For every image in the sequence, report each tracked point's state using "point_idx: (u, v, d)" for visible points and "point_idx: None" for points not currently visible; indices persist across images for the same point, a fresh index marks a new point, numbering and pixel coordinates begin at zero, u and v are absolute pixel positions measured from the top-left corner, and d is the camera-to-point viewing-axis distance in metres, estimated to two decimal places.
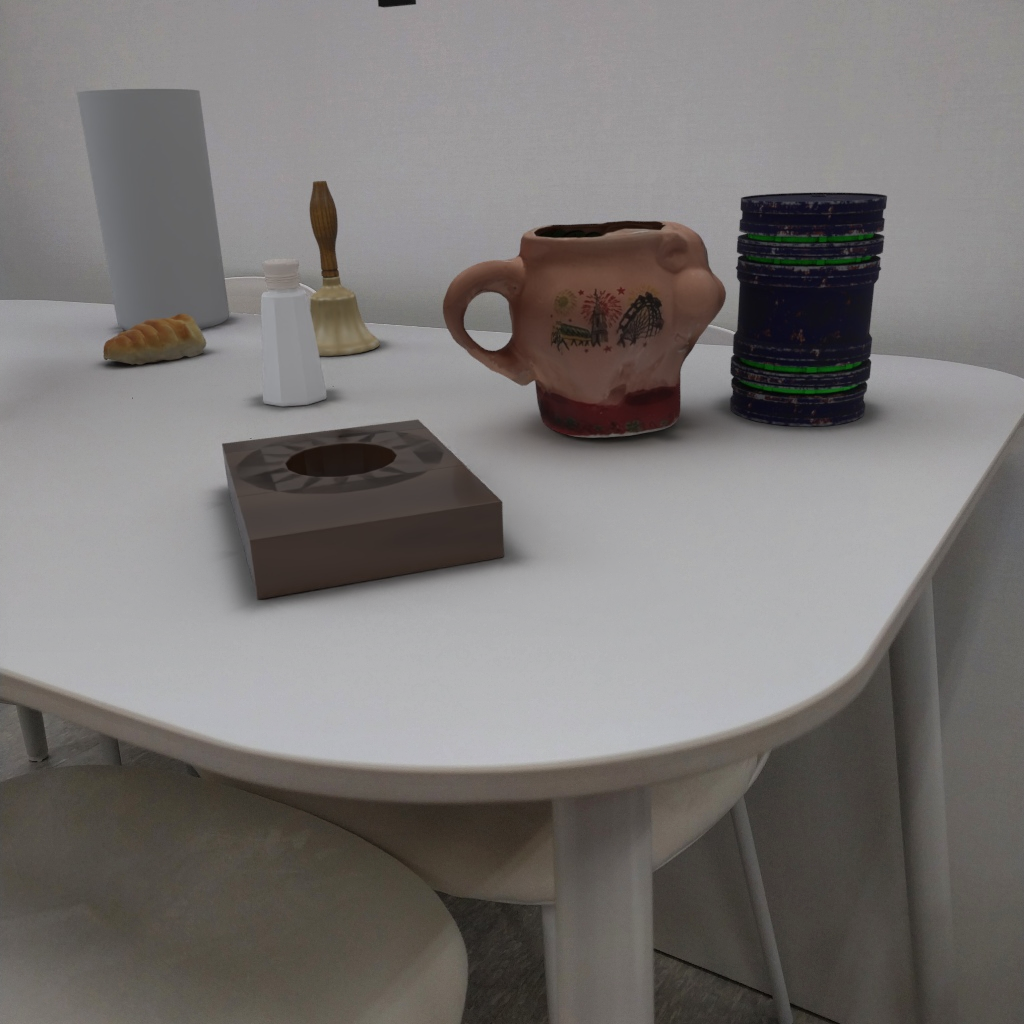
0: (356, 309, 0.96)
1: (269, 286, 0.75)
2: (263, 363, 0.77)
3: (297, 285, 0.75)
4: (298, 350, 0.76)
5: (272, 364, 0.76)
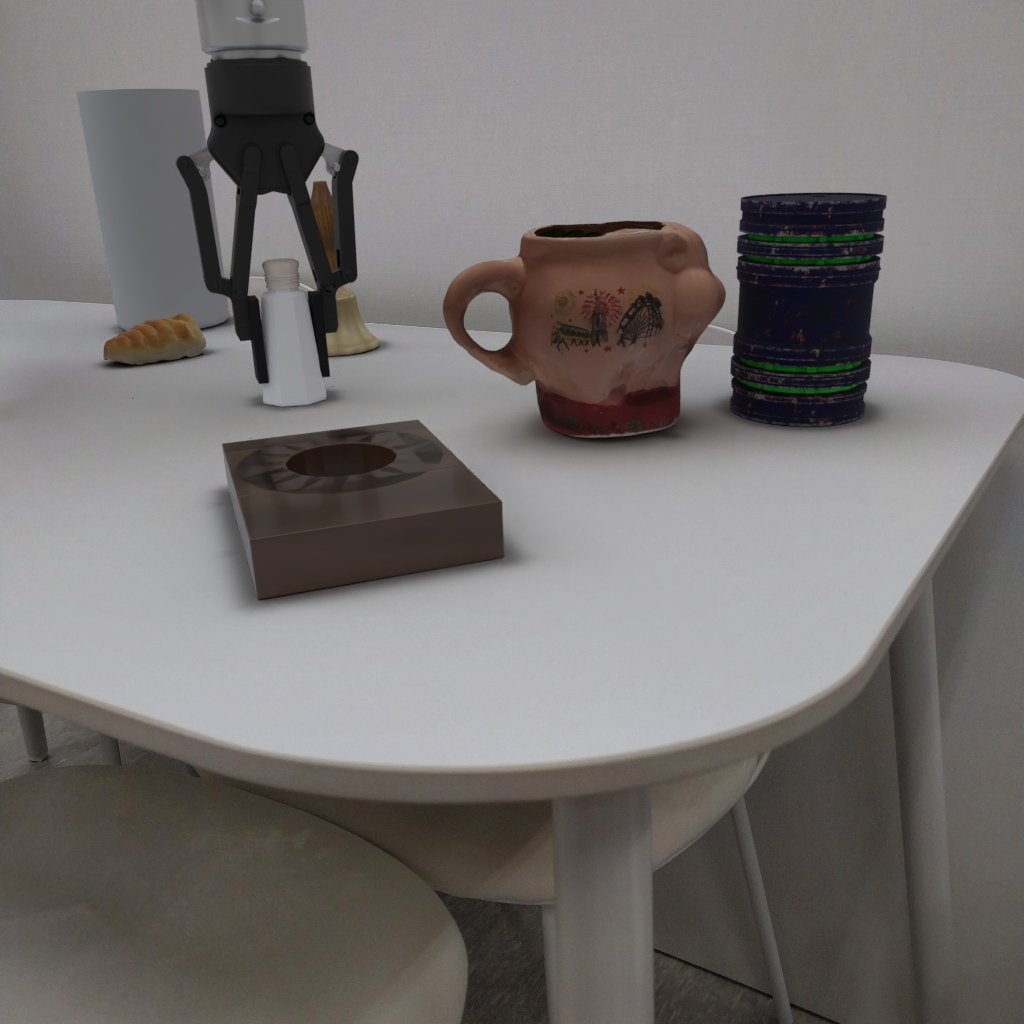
0: (356, 309, 0.96)
1: (269, 286, 0.75)
2: None
3: (297, 285, 0.75)
4: (297, 350, 0.76)
5: (272, 364, 0.76)
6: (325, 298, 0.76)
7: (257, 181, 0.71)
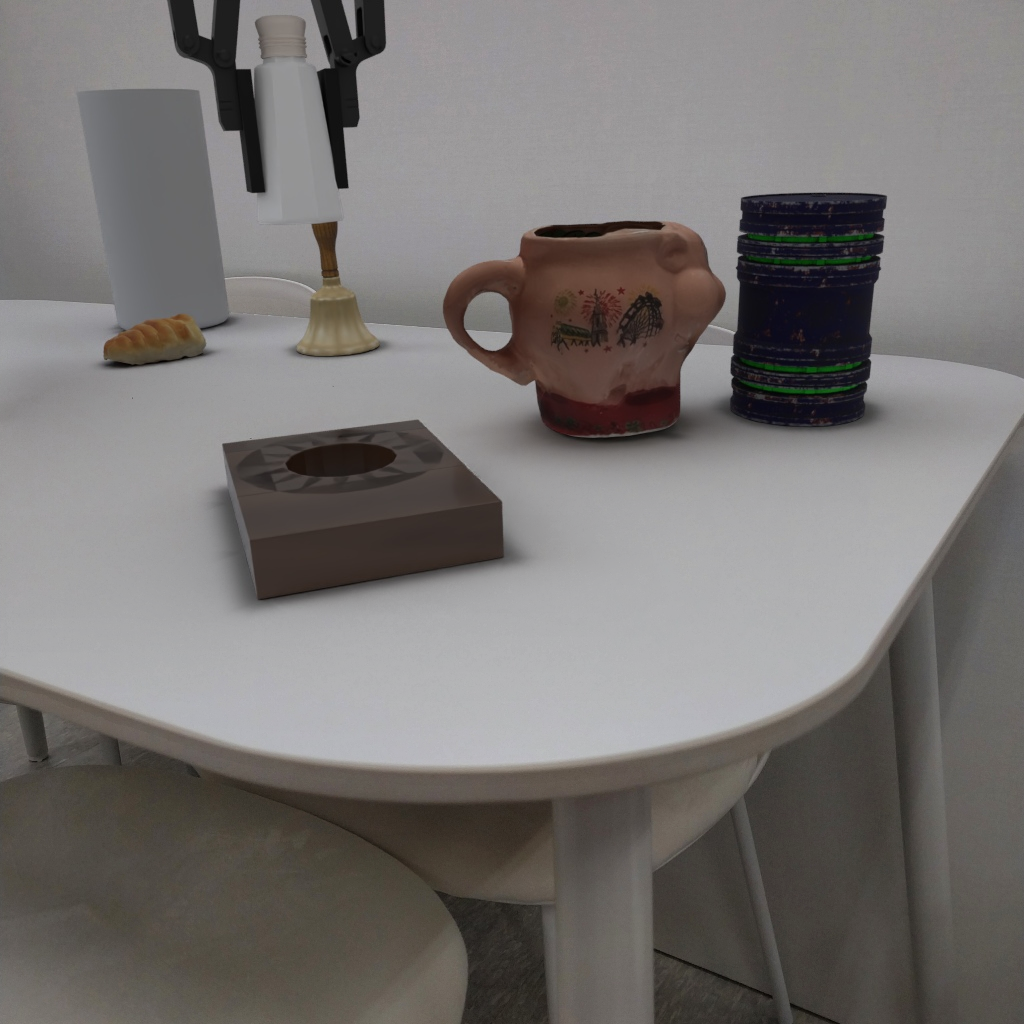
0: (356, 309, 0.96)
1: (265, 53, 0.54)
2: None
3: (303, 54, 0.55)
4: (305, 144, 0.55)
5: (269, 165, 0.55)
6: (342, 76, 0.56)
7: None
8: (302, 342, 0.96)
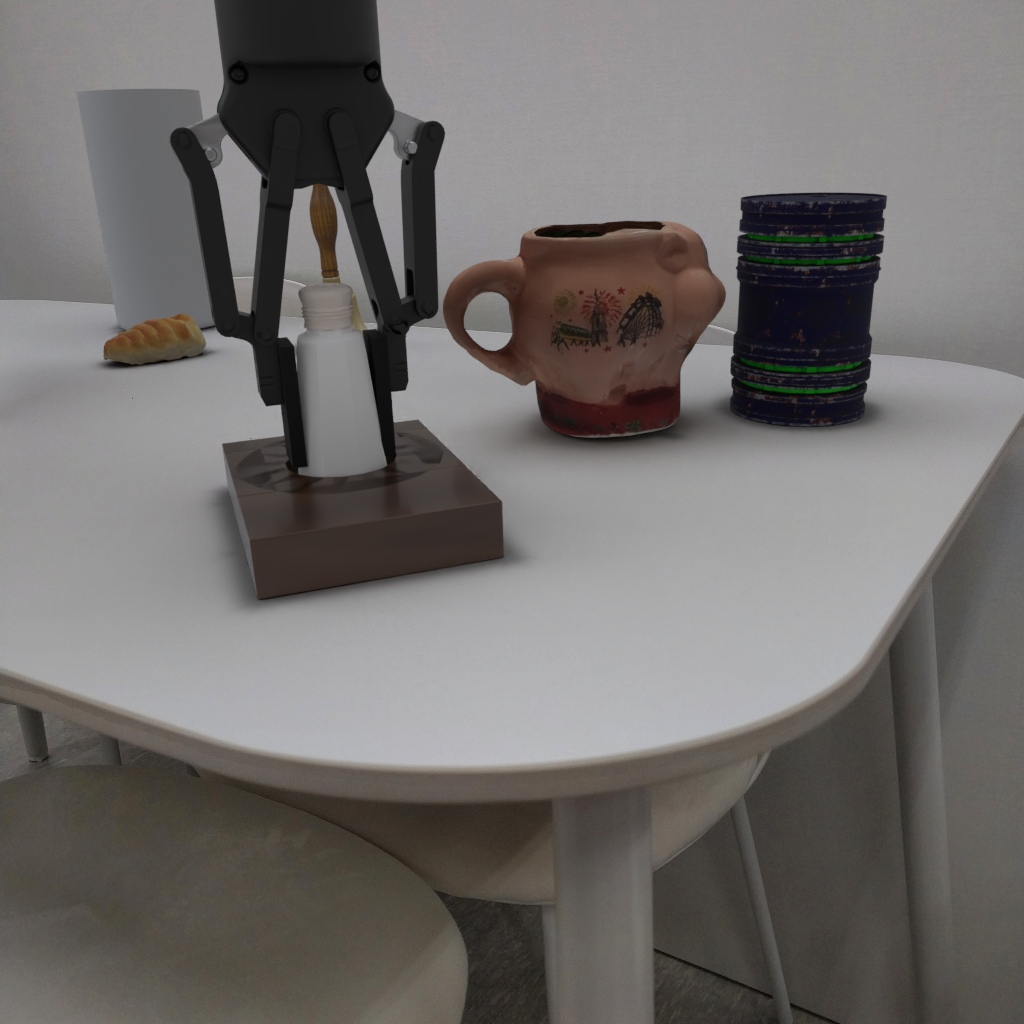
0: (356, 309, 0.96)
1: (309, 325, 0.50)
2: None
3: (350, 323, 0.51)
4: (351, 419, 0.51)
5: (312, 440, 0.51)
6: (390, 341, 0.52)
7: (294, 168, 0.46)
8: None
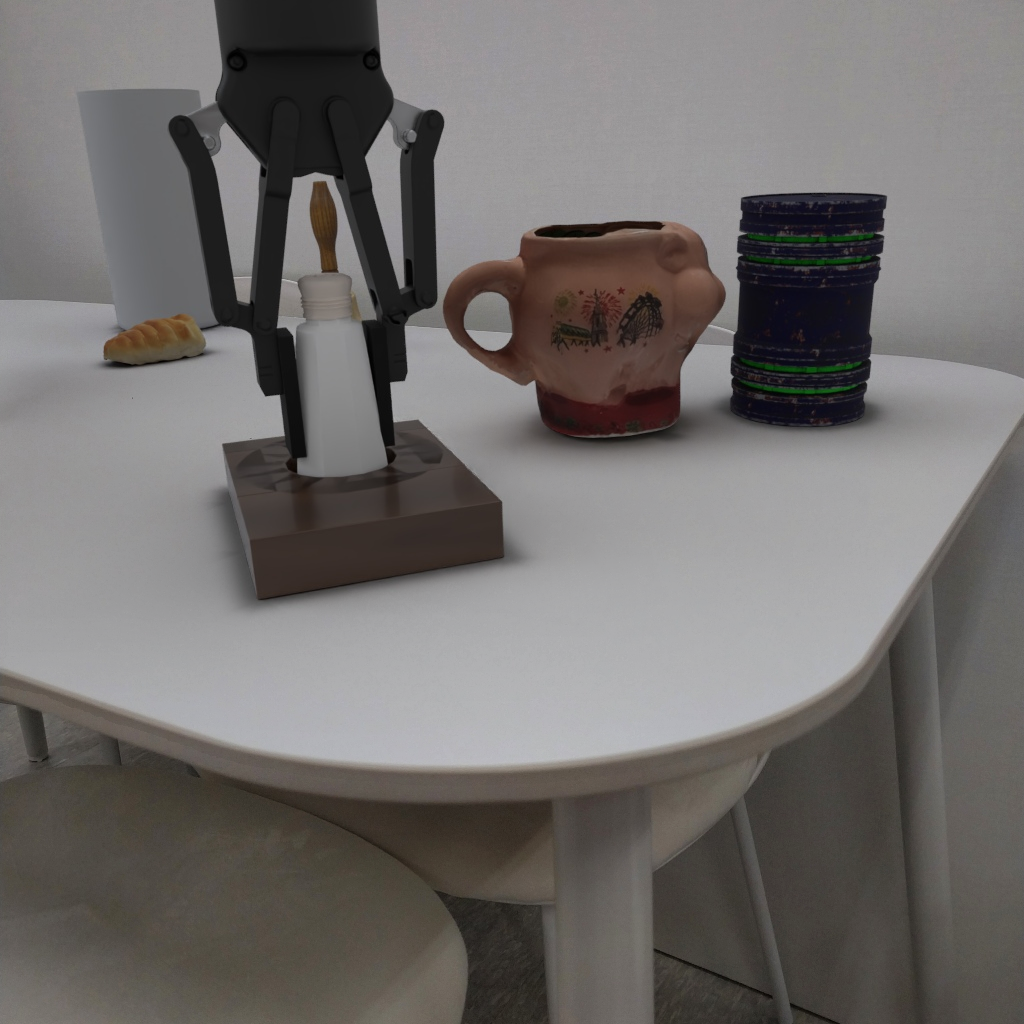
0: (356, 309, 0.96)
1: (308, 315, 0.50)
2: None
3: (349, 313, 0.51)
4: (350, 409, 0.51)
5: (311, 430, 0.51)
6: (389, 332, 0.52)
7: (293, 156, 0.46)
8: None
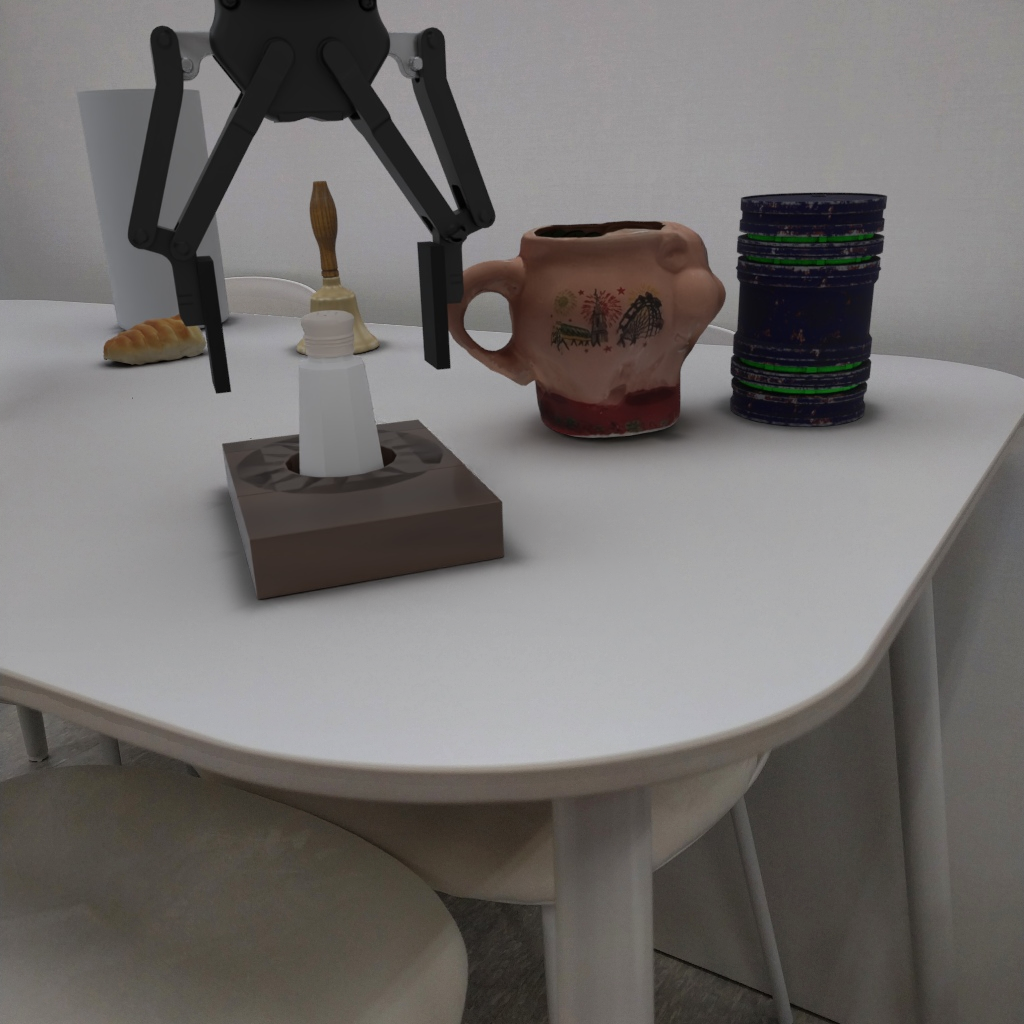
0: (356, 309, 0.96)
1: (311, 353, 0.51)
2: (301, 463, 0.52)
3: (352, 350, 0.51)
4: (353, 445, 0.52)
5: (314, 466, 0.52)
6: (447, 251, 0.51)
7: (272, 97, 0.45)
8: (302, 342, 0.96)
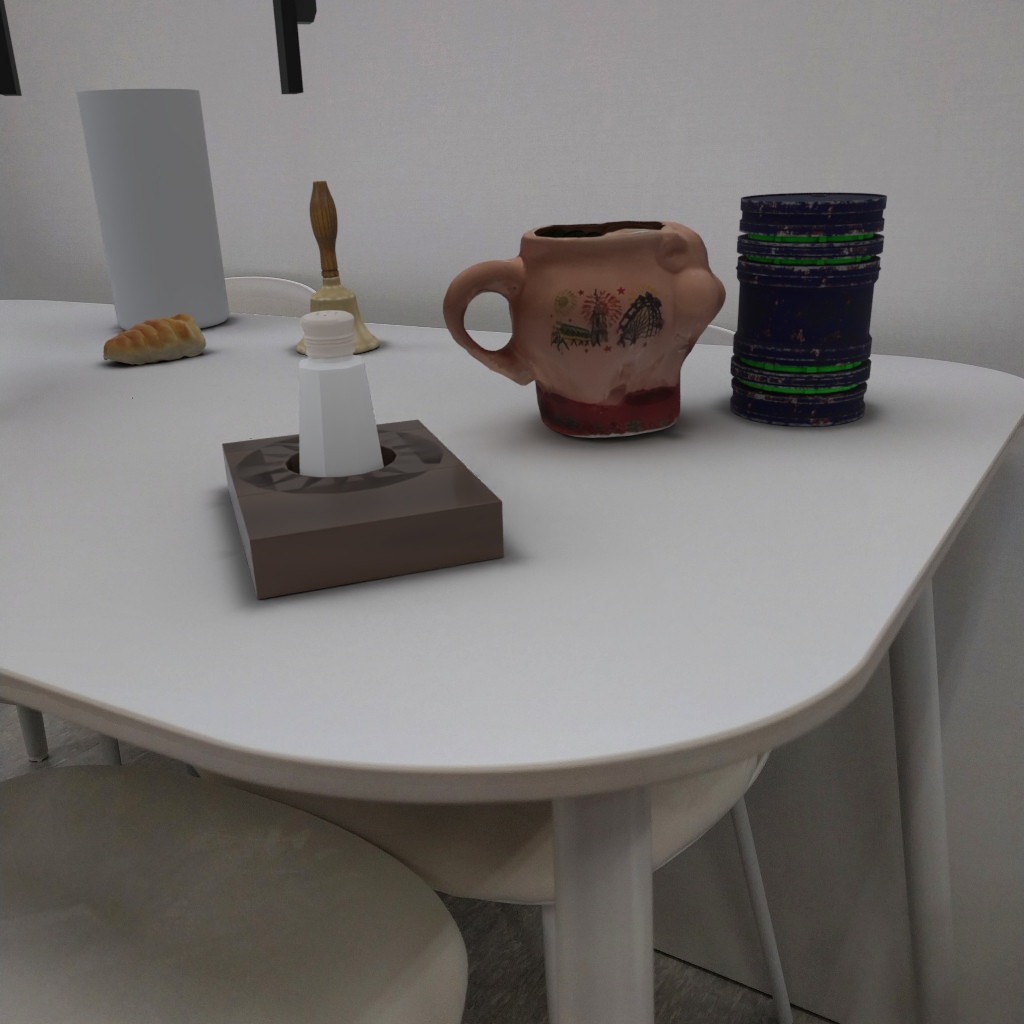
0: (356, 309, 0.96)
1: (311, 353, 0.51)
2: (301, 463, 0.52)
3: (352, 350, 0.51)
4: (353, 445, 0.52)
5: (314, 466, 0.52)
6: None
7: None
8: (302, 342, 0.96)
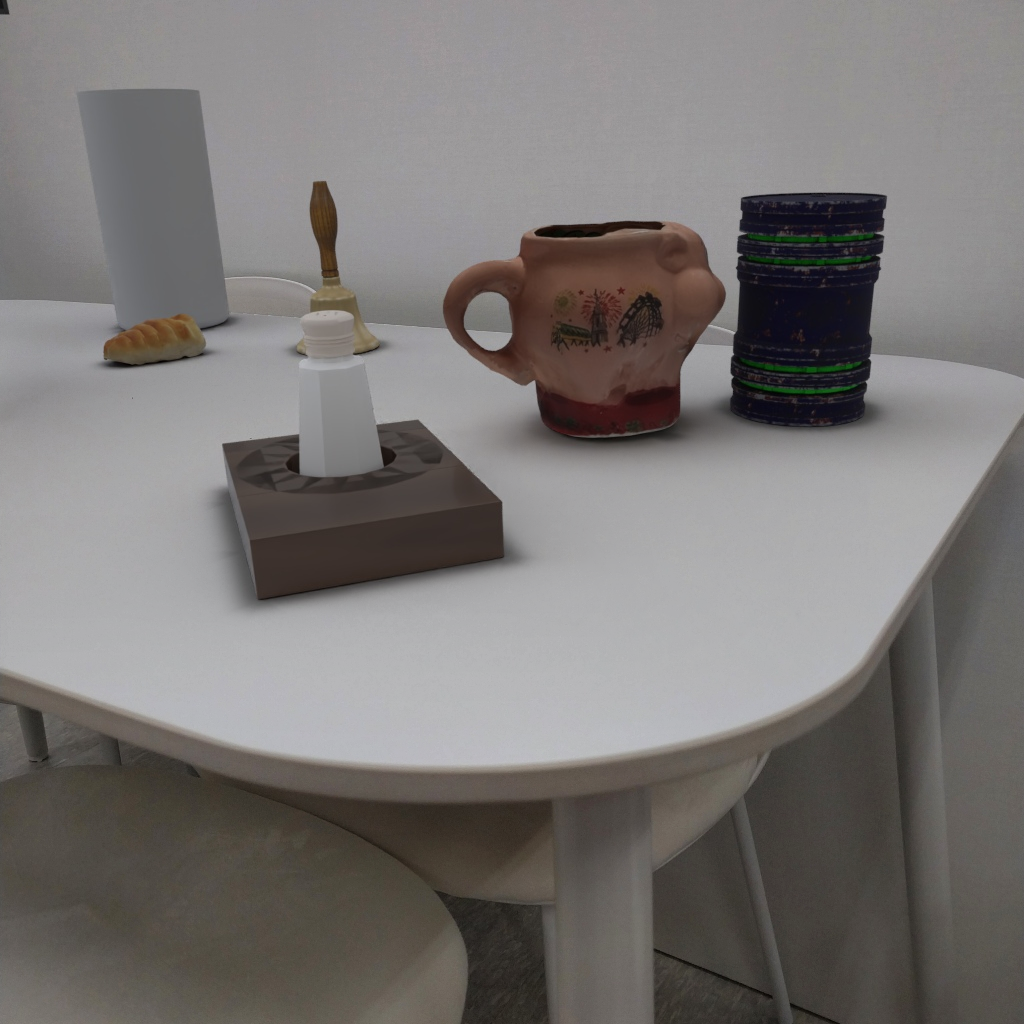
0: (356, 309, 0.96)
1: (311, 353, 0.51)
2: (301, 463, 0.52)
3: (352, 350, 0.51)
4: (353, 445, 0.52)
5: (314, 466, 0.52)
6: None
7: None
8: (302, 342, 0.96)
